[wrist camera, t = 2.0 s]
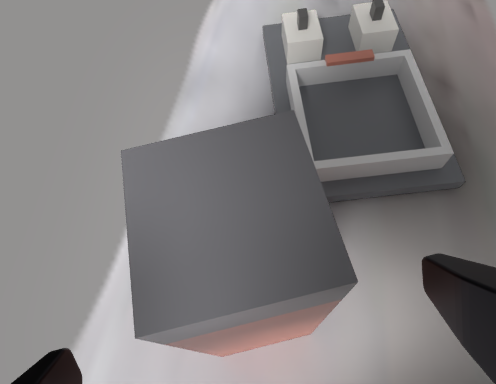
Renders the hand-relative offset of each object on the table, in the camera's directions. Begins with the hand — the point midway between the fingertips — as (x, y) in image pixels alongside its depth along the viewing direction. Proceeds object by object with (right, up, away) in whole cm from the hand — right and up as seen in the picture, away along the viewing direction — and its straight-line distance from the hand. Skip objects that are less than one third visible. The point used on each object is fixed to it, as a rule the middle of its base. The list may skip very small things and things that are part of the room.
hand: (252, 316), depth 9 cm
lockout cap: (0, -3, +10) cm, 10 cm away
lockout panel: (+7, +9, +16) cm, 19 cm away
